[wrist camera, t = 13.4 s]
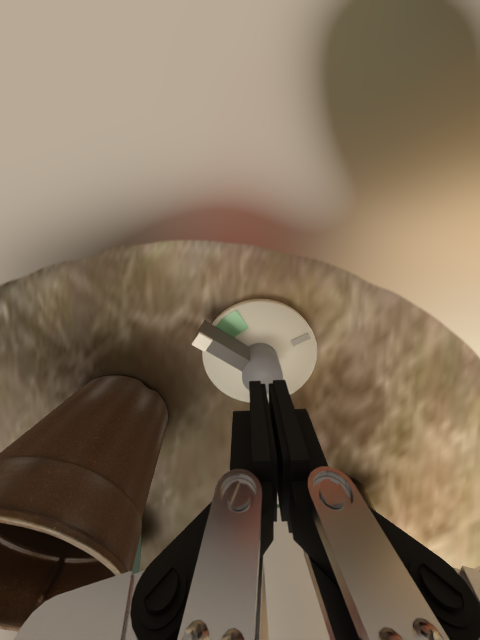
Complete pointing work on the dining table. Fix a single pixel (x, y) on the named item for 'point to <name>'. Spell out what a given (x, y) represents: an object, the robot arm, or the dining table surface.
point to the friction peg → (240, 355)
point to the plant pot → (77, 493)
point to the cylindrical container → (290, 590)
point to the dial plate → (270, 328)
